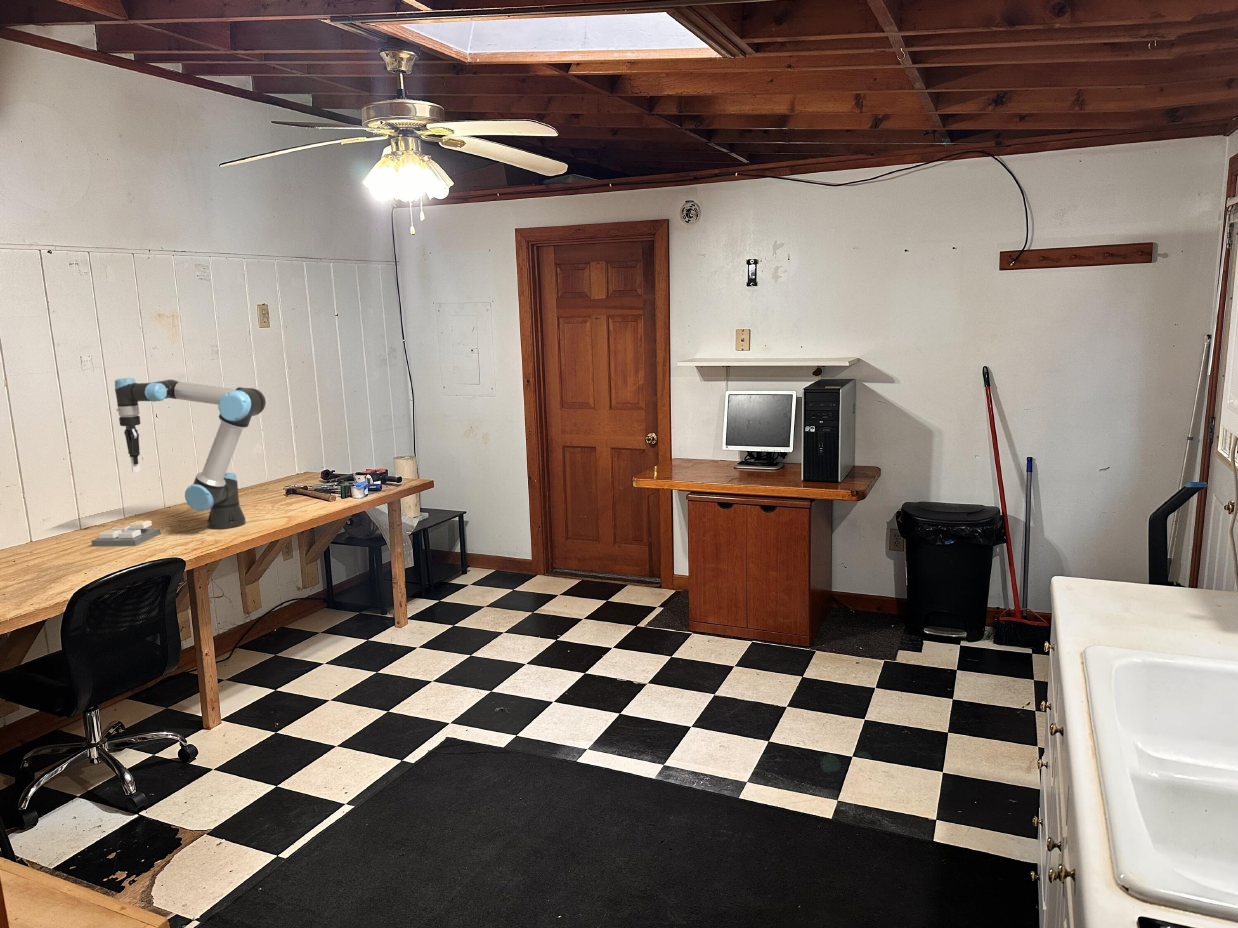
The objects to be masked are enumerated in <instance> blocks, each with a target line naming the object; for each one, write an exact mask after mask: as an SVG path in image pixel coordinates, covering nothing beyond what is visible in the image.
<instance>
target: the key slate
mask: <svg viewBox="0 0 1238 928" xmlns="http://www.w3.org/2000/svg"><path fill="white" fill-rule="evenodd" d="M139 535H141V530H125V531H123V532H121V533H118V537H119V538H134V537H137V536H139Z"/></svg>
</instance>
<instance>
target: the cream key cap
mask: <svg viewBox="0 0 1238 928" xmlns="http://www.w3.org/2000/svg"><path fill="white" fill-rule="evenodd" d="M129 525H130V529H137V530H141V533H143V532H145V531H146V529H148V528H149V527H151V526H153V523H152V520H136V521H135V522H132V523H129Z"/></svg>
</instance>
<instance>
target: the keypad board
mask: <svg viewBox="0 0 1238 928" xmlns="http://www.w3.org/2000/svg"><path fill="white" fill-rule="evenodd" d="M134 530H137V529H134ZM161 534H162V532H161V528H146V531H145V532H143V533H141V535H139V536H137V537H134V538H119V537H116V538H110V539H100V538H99V537H96V538H94V539H92V540H91V542H90V543H91V547H137V546H138V545H140V544H143V543H145V542H147V541H149V540H151V539H154V538H155V537H158V536H160V535H161Z"/></svg>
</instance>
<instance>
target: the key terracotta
mask: <svg viewBox="0 0 1238 928" xmlns="http://www.w3.org/2000/svg"><path fill="white" fill-rule="evenodd" d="M110 530H122V532H123V531H125V530H134V529H130V524H119V525H116V526H115V527H112V528H111V529H110Z"/></svg>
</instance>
